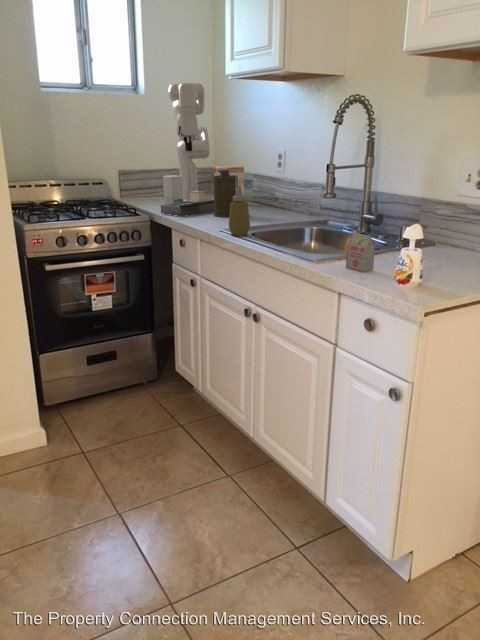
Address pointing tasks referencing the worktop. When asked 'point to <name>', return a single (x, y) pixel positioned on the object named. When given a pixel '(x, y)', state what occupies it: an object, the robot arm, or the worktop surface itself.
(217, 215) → the canister
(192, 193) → the block
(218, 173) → the coffeecake box
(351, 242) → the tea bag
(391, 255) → the worktop surface
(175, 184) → the skincare box
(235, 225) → the squeeze bottle
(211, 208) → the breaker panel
